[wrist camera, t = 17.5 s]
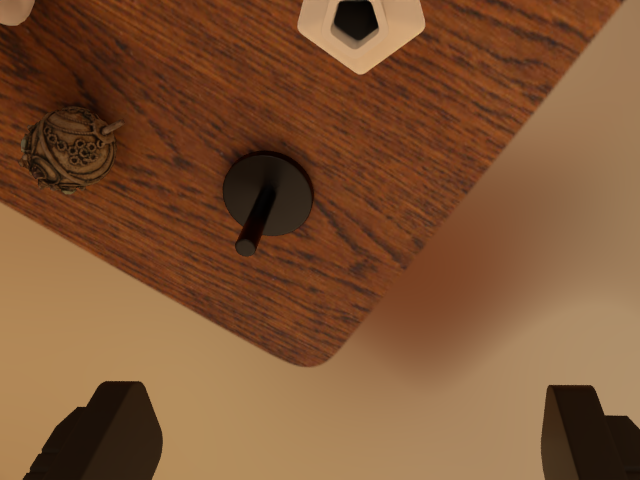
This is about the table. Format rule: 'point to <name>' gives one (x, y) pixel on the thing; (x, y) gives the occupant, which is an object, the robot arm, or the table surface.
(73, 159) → the pendant
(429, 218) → the table surface
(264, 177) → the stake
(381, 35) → the perfume bottle
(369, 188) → the table surface
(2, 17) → the figurine
